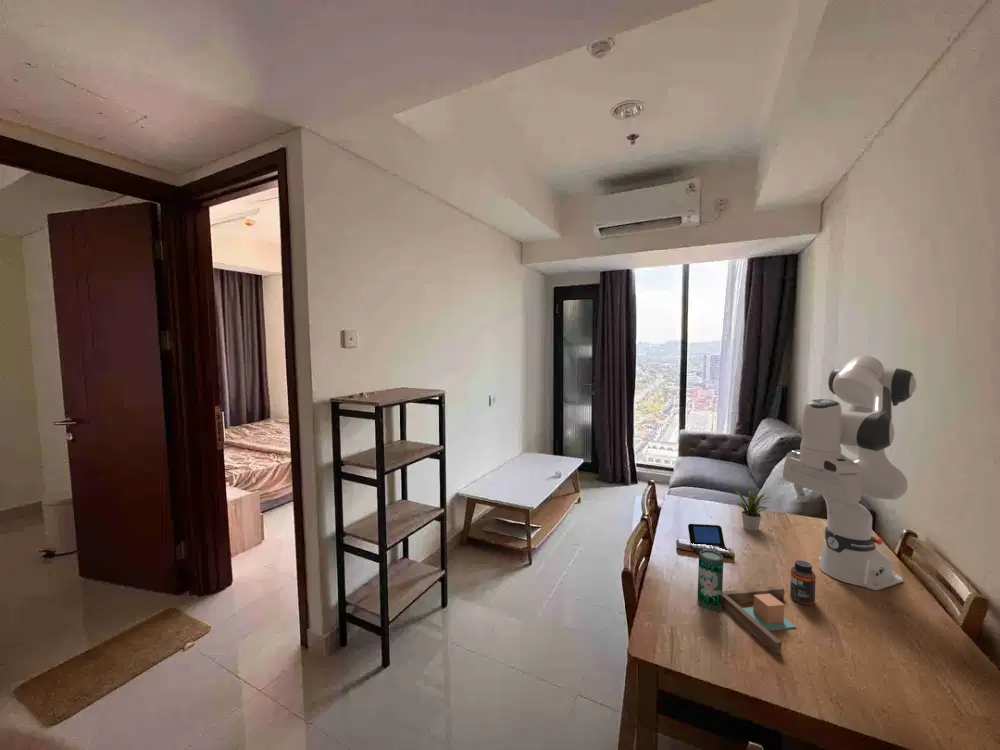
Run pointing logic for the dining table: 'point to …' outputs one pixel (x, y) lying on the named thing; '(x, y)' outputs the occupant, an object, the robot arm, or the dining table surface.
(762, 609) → the cube
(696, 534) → the handheld game console
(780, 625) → the pad
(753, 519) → the house plant
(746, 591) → the wooden l-shaped wall
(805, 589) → the supplement bottle
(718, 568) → the can
